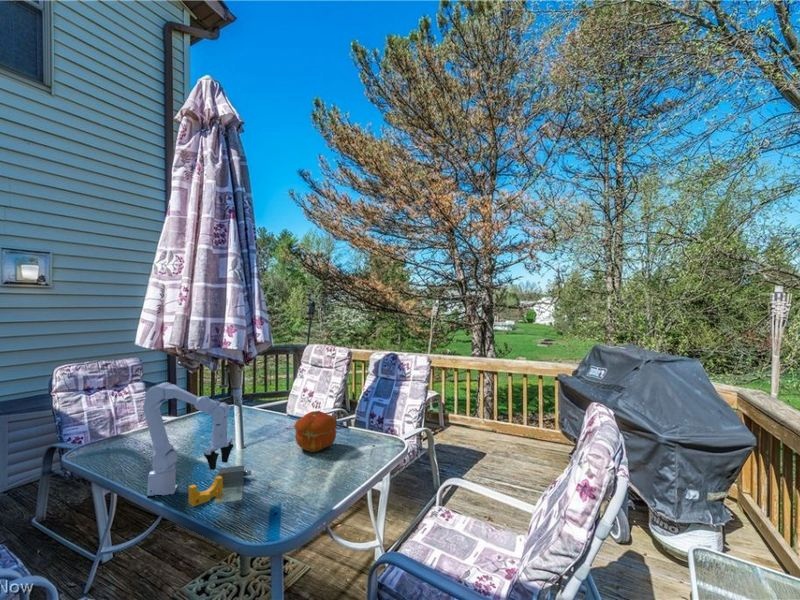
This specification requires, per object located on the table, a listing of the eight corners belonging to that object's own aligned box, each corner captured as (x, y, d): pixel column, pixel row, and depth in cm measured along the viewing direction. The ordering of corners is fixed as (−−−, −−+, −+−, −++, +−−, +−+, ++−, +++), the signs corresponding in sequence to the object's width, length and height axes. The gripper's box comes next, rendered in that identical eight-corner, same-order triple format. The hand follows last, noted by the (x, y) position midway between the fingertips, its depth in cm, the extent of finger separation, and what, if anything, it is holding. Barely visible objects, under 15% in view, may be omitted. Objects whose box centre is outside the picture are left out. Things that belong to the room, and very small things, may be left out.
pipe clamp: (193, 506, 145) (193, 489, 145) (188, 502, 148) (188, 486, 148) (224, 494, 154) (224, 478, 155) (219, 491, 157) (219, 475, 157)
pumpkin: (286, 447, 208) (287, 410, 209) (322, 438, 223) (323, 404, 224) (306, 460, 191) (307, 420, 191) (344, 449, 206) (345, 412, 206)
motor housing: (213, 503, 148) (214, 490, 148) (219, 479, 168) (219, 468, 168) (249, 498, 152) (250, 486, 152) (251, 475, 173) (251, 464, 173)
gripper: (216, 439, 152) (215, 474, 152) (239, 428, 166) (238, 460, 166) (201, 438, 154) (200, 472, 153) (224, 427, 168) (223, 458, 167)
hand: (218, 465), depth 160 cm, fingers open, 7 cm apart
